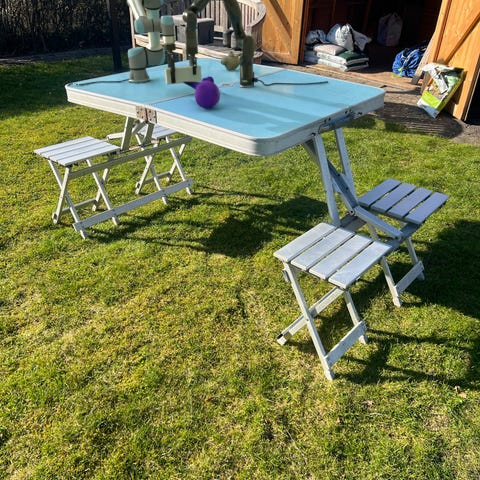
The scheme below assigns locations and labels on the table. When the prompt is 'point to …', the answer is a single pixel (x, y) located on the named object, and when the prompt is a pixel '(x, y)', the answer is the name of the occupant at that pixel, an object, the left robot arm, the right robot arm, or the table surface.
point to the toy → (205, 92)
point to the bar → (183, 75)
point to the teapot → (231, 61)
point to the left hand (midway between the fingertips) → (172, 82)
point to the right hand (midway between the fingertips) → (193, 73)
